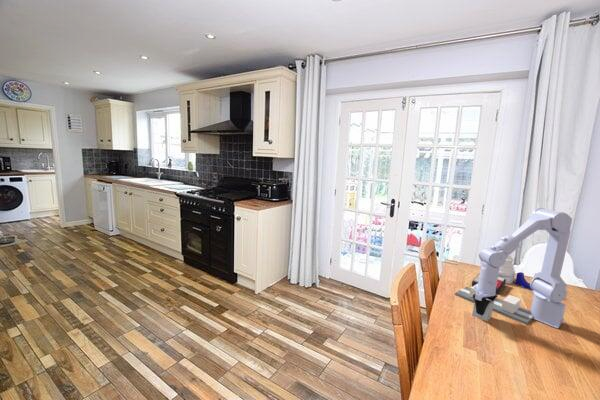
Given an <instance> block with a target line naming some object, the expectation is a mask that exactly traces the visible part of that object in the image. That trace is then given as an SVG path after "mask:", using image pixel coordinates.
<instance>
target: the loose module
mask: <svg viewBox="0 0 600 400" xmlns="http://www.w3.org/2000/svg"><path fill="white" fill-rule="evenodd" d="M487 300H489V299H487ZM489 301H491V302H490V303H489V304H488V305H487V307H486V310H485V312H484V314H483V315H480V314H477V313H476V305H475V302H474V303H473V307H472V308H473V310H472V315H471V316H472V317H476V318H477V319H479V320H482V321H484V322H488V321H490V320H491V319H492V316H493V311H492V310H493V305H494V301H492V300H489Z"/></svg>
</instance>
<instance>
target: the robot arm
mask: <svg viewBox="0 0 600 400" xmlns="http://www.w3.org/2000/svg"><path fill="white" fill-rule="evenodd" d="M572 222H573V218H572V217H571V216H570V215H569V214H568V213H566V212H561V211H555V210H552V209H551V210H550V209H546V208H543V207H537V208H536V209H534V210H533V211H532V212H531V213H529V215H528V219H527V220H526V221H525V222H524V223H523V224H522V225H520V227H518V228H517V229H516V230H515V231H514V232H513V233H512V234H511V235H504V236H501V238H500V239H499V240H497V241H496V242H495V243H494V244H493V245H491V246H490V247H487V248H483V249H482V250H481V252H480V253H478V257H479V260H480V270H479V271H480V272H479V273H480V276H479V282H478V286H474V289H476V290H477V293H476V294H474V295H473V299H474V301H475V305H476V313H477V314H480V315H483V314H484V312H485V310H486V307H487V305H488V304H489V303H490V302H491V301H489V300H492V301H494V300H495V298H498V295H497V294H496V285H497V279H498V274H499V268H500V266H502V265H504V263H505V261H506V259H507V257H508V256H509V255H510V256H511V254H512V253H514V252H516V250H518V249H520V243H521V242H522V241H524V240H525V239H527V238H528V237H529V236H531V235H533V234H534V233H536V232H537V231H546V232H548V239H547V243H546V248H545V253H544V257H543V262H542V266H541V269H540V270H541V271H540V272H535V273H534V275H533V278H532V279H531V280H530V283H529V284H530V287H531V289H532V290H531V291H532V294H533V297H532V302H531V306H530V313H531V314H532V315H533V318H532V320H535V321H538V322H541V323H542V324H545V325H548V326H550V327H552V328H555V329H559V328H560V326H561V325H562V323H564V316H565V312H566V306H567V305H566V303H564V302H563V301H564V300H565V299H566V297H567V294H568V293H567V283H566V282H565V281H564V280H563V278H562V277H561V274H562V270H563V266H564V265H563V264H564V261H565V256H566V254H567V253H566V252H567V248H568V244H569V239H570V236H571V226H572V224H573V223H572ZM487 299H489V300H487Z"/></svg>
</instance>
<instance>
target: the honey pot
mask: <svg viewBox="0 0 600 400" xmlns="http://www.w3.org/2000/svg"><path fill="white" fill-rule="evenodd" d="M514 261H515V259H514V258H513V257H511V254H510V255H509V256H508V257H507V259H506V261H505V263H504V265H502V266H500V268H499V274H498V277H501V278H504V279H506V282H505V284H512V283H514V281H515V273H516V271H515V268H514V263H513V262H514Z"/></svg>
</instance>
